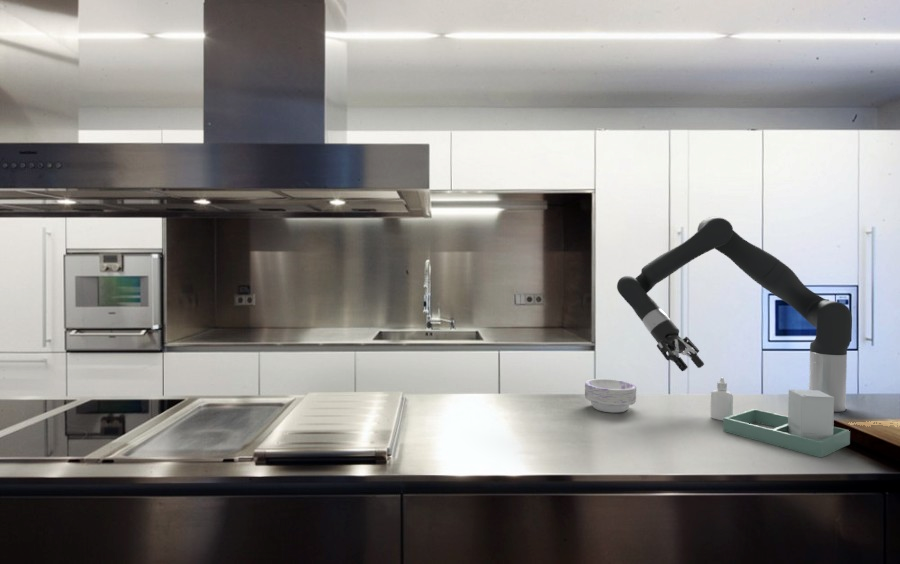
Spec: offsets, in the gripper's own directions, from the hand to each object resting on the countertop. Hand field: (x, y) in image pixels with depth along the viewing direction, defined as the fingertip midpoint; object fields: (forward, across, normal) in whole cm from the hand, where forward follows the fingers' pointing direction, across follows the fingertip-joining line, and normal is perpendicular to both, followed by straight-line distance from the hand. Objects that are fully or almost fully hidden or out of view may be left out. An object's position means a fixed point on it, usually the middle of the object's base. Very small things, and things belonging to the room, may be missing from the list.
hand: (693, 367), depth 157 cm
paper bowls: (-2, -18, +21) cm, 28 cm away
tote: (+28, -2, -9) cm, 30 cm away
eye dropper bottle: (+16, 0, +3) cm, 16 cm away
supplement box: (+32, -2, -13) cm, 35 cm away
